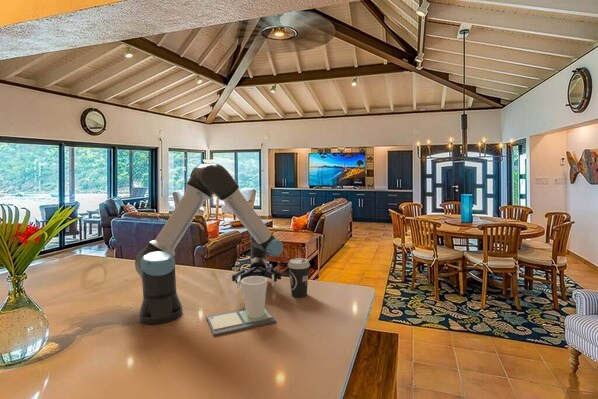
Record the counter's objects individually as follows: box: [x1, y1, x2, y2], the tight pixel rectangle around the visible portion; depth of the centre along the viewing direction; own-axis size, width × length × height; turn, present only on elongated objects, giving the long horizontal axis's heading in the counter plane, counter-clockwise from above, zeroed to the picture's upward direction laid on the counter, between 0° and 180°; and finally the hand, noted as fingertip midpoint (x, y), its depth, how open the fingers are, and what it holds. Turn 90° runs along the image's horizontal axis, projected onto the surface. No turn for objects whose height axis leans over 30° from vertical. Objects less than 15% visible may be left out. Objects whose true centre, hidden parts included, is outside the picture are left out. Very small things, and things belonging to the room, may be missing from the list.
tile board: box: [205, 307, 277, 337], centre depth 125 cm, size 22×15×1 cm
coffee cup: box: [287, 257, 311, 299], centre depth 147 cm, size 10×10×15 cm
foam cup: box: [240, 276, 268, 318], centre depth 127 cm, size 10×9×13 cm
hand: (255, 283), depth 135 cm, fingers open, 13 cm apart
